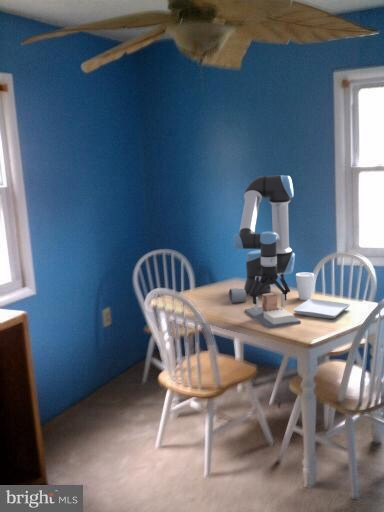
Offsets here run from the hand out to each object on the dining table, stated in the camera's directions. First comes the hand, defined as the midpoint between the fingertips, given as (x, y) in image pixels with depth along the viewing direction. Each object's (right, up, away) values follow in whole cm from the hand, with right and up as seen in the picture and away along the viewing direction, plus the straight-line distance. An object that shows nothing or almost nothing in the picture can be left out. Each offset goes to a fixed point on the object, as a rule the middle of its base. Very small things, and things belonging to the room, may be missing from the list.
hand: (269, 308), depth 252 cm
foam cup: (+23, +3, +29) cm, 37 cm away
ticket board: (+1, -4, -1) cm, 4 cm away
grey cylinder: (-13, +1, +29) cm, 32 cm away
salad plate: (+25, -3, +3) cm, 26 cm away
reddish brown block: (0, -2, 0) cm, 2 cm away
